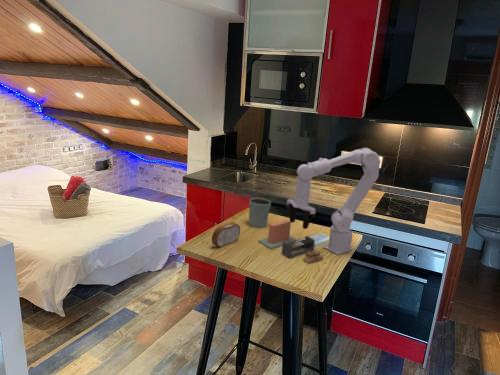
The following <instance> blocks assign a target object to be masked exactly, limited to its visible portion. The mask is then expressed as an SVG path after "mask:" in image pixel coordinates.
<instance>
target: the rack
mask: <svg viewBox="0 0 500 375" xmlns="http://www.w3.org/2000/svg"><path fill="white" fill-rule="evenodd" d="M315 242H316V240H315V238H312V237H309V236H308V235H305V237H304V243H303V244H300V245H296V246H293V245H291V244H287V243H286V242H283V246H281V247H282V248H281V254H282V255H283V256H285V257H286V258H288V259H292V258H296V257H300V256H302V255H305V254H306V253H307V252H310V251H314V250H315ZM298 250H299V251H298Z"/></svg>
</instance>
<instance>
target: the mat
mask: <svg viewBox="0 0 500 375" xmlns="http://www.w3.org/2000/svg"><path fill="white" fill-rule="evenodd" d="M296 241H298V242H299V240H298V239H297V238H294V237H292V236H291V235H289V239H288V240H284V241H280V242H276V243H273V244H271V243H269V242H268V237H267V238H262V239H258V240H257V243H259V244H261V245H263V246H264V247H266V248H268V249H269V250H273V249H276V248H280V247H282V246H283V242H286V243H287V244H289V245H291V244H296V243H297V242H296Z"/></svg>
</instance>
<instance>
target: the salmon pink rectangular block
mask: <svg viewBox="0 0 500 375" xmlns="http://www.w3.org/2000/svg"><path fill="white" fill-rule="evenodd" d="M291 224H292V223H291V222H290V220H288V219H285V220H282V221H277V222H273V223H270V224H269V225H268V237H267V238H268V242H269V243H271V244H273V243H276V242H280V241H284V240H288V239H289V236H290V232H291Z"/></svg>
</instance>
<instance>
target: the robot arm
mask: <svg viewBox="0 0 500 375" xmlns="http://www.w3.org/2000/svg"><path fill="white" fill-rule="evenodd" d="M379 156H380V155H379V154H378V153H377V152H376V151H373V150H372V149H370V148H368V147H362V148H358V149H354V150H352V151H350V152H347V153H343V154H342V155H340V156H337V157H334V158H331V159H328V158H326V157H324V158H323V157H320V158H318V160H315V161H312V162H307V164H306V163H303V164H300V165H299V166H298V168H297V169H296V174H297V178H296V183H295V184H296V185H295V192H294V199H292V198H289V199H287V200H286V201H287V202H286V204H287V205H286V206H285V207H286V211H287V213H288V217H289V221H290V222H291V224H292V223H295V222H296V218H297V212H298V209H300V210H302V211H304V212H302V213H301V214H302V221H303V222H302V229H304V230H305V229H308V228H309V226H310V223H311V221H312V219H313V218H314V217H315V216H316V210H317V209H316V208H314V207H312V206H311V205H310V204H309V202H310V201H309V200H310V193H311V186H312V185H311V181H312V178H314V177H317V176H321V175H323V174H324V175H325V174H327V173H329V172H331V171H332V169H333V168H336V167H340V166H342V165H347V164H350V163H351V164H352V163H353V164H357V165H361V166H362V170H363V175H362V176H361V178H360V180H359V181H358V183H357V184H356V186H355V187H354V189H353V190H352V191H351V193H350V195H349V196H348V198H347V199H346V201H345V202H344V204H343V205H342V206H340V207H339V208H338V209H337V210H336V211H334V212H333V213H332V214H331V217H330V220H331V222H332V225H331V226H330V231H329V239H328V243H327V244H328V245H324V246H323V248H324V249H326V250H327V251H329V252H332V253H334V254H335V255H341V254H344V253H347V252H350V251H352V250H353V248H351V245H352V240H353V233H352V230H351V229H350V228H351V226H352V225H351V224H352V222H353V220H354V215H355V212H356V211H357V209H358V208H359V207H360V205H361V204H362V202H363V200H364V199H365V198H366V196H367V195H368V193H369V192H370V190H371V188H372V187H373V185H374V184H375V183H376V181H377V180H378V179H379V173H380V164H381V159H380V157H379Z"/></svg>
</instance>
